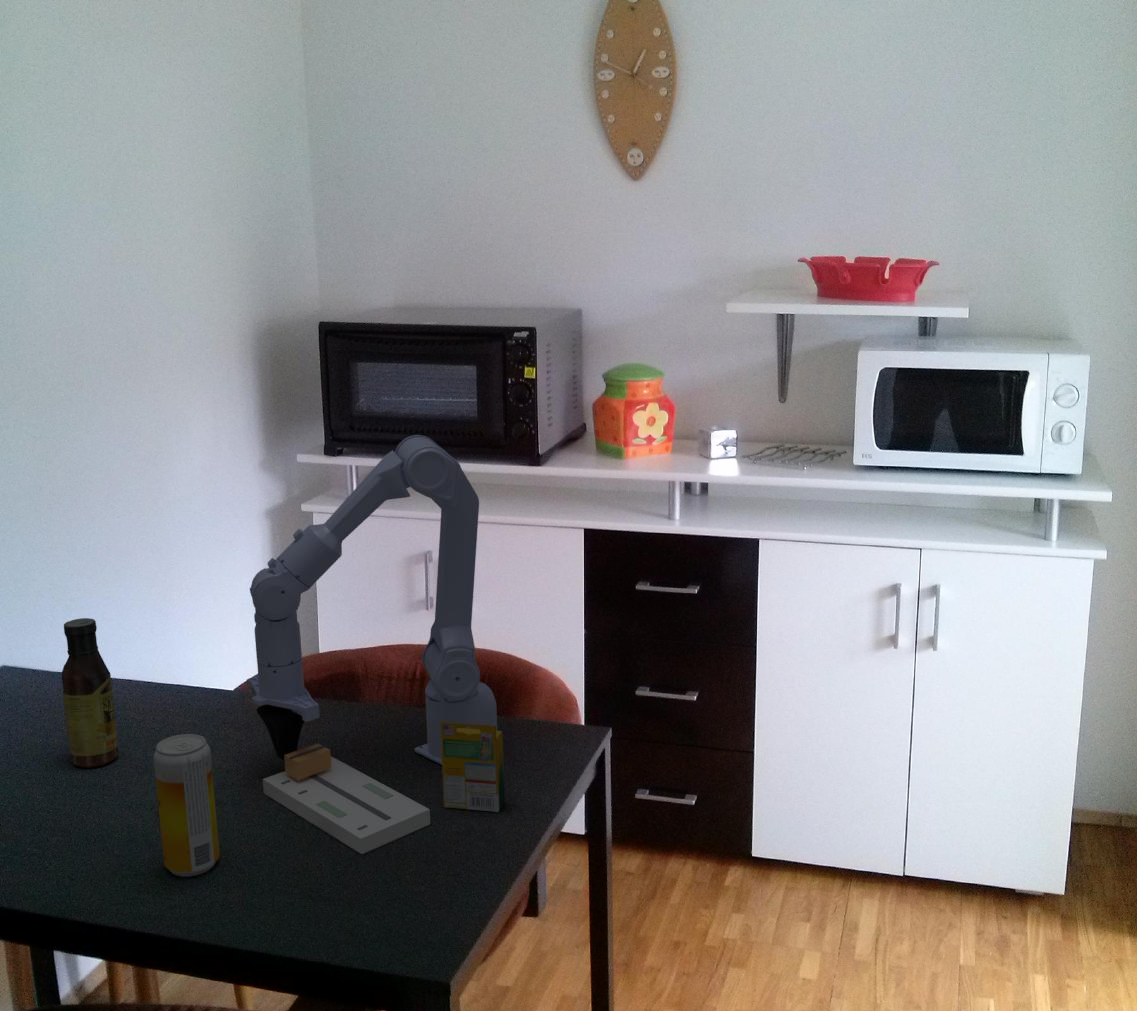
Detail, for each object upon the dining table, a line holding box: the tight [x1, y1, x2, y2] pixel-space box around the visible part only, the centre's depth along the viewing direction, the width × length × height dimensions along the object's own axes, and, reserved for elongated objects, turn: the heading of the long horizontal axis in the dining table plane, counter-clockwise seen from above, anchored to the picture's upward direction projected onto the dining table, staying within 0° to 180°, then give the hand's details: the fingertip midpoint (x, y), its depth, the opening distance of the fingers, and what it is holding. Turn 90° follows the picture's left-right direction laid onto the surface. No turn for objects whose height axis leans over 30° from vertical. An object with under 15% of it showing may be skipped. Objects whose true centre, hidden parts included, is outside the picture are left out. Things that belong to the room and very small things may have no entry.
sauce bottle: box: [61, 617, 119, 768], centre depth 162 cm, size 6×6×20 cm
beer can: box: [153, 733, 220, 877], centre depth 135 cm, size 6×6×15 cm
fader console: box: [262, 756, 431, 855], centre depth 149 cm, size 10×22×2 cm, turn 44°
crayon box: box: [441, 722, 506, 813], centre depth 148 cm, size 7×3×12 cm, turn 78°
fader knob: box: [284, 743, 332, 780], centre depth 154 cm, size 5×3×3 cm, turn 134°
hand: (286, 756), depth 158 cm, fingers closed
